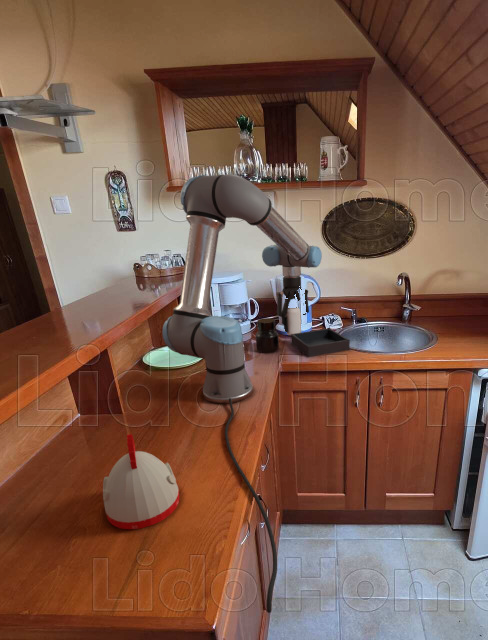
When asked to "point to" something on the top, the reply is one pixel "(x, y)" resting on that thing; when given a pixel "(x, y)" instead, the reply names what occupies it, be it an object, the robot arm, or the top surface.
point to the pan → (320, 342)
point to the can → (293, 320)
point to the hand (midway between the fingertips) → (293, 330)
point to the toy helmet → (139, 490)
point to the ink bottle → (267, 336)
